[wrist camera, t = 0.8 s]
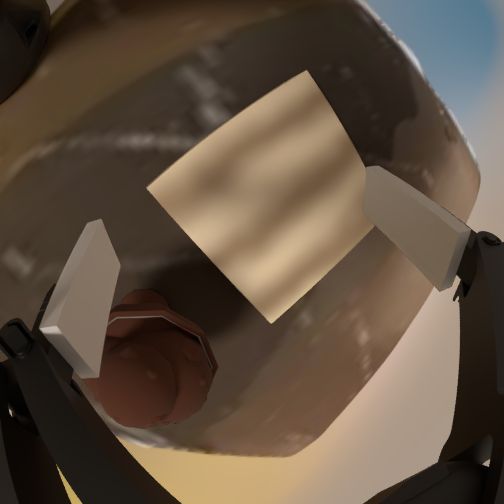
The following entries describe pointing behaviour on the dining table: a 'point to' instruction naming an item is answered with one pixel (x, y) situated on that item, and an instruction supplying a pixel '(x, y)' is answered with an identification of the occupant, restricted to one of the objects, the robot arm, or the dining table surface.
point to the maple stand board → (271, 195)
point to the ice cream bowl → (152, 364)
